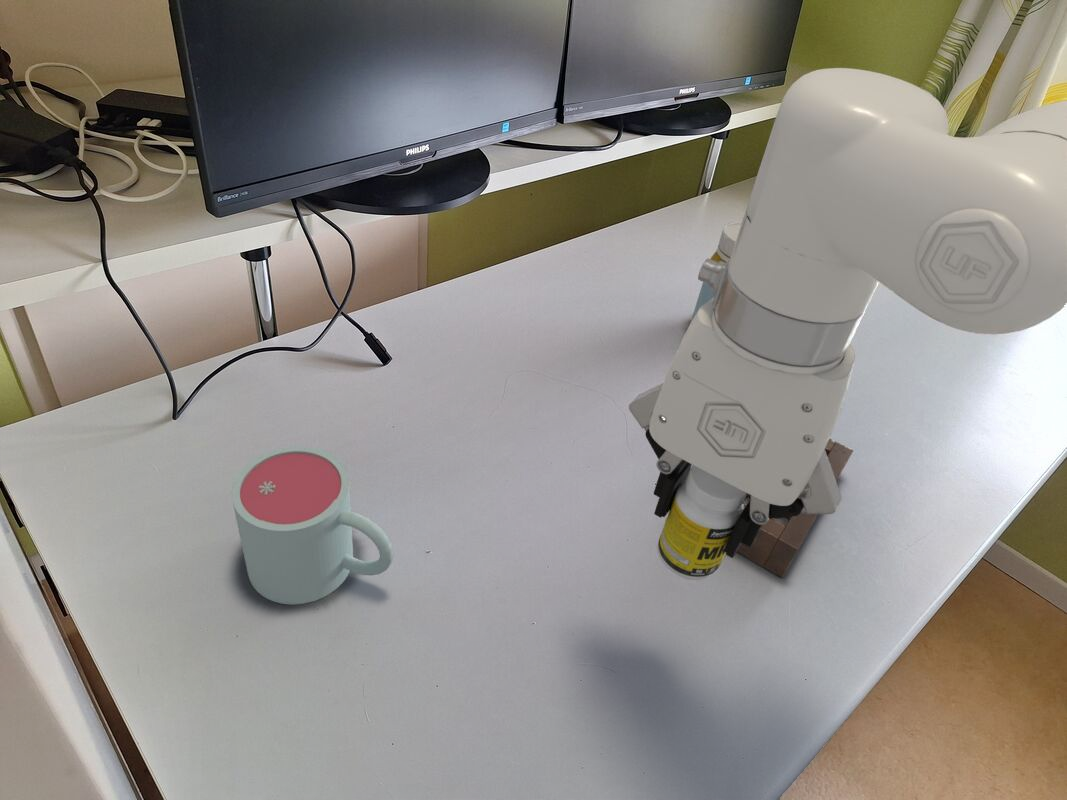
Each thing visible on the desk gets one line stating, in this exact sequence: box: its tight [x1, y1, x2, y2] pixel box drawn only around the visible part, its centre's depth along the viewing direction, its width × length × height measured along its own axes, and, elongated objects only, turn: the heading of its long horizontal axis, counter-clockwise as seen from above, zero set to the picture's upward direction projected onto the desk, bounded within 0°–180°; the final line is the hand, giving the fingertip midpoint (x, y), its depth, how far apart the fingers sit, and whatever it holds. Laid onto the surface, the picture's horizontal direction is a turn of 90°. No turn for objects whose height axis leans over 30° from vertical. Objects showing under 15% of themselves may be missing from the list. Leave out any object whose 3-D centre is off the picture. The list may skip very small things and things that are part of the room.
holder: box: [736, 438, 854, 578], centre depth 80 cm, size 10×18×4 cm, turn 145°
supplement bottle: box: [657, 465, 747, 581], centre depth 54 cm, size 5×5×8 cm
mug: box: [231, 445, 394, 605], centre depth 65 cm, size 14×9×10 cm
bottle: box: [690, 221, 742, 323], centre depth 100 cm, size 7×7×15 cm
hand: (701, 522), depth 54 cm, fingers closed on supplement bottle, 4 cm apart
